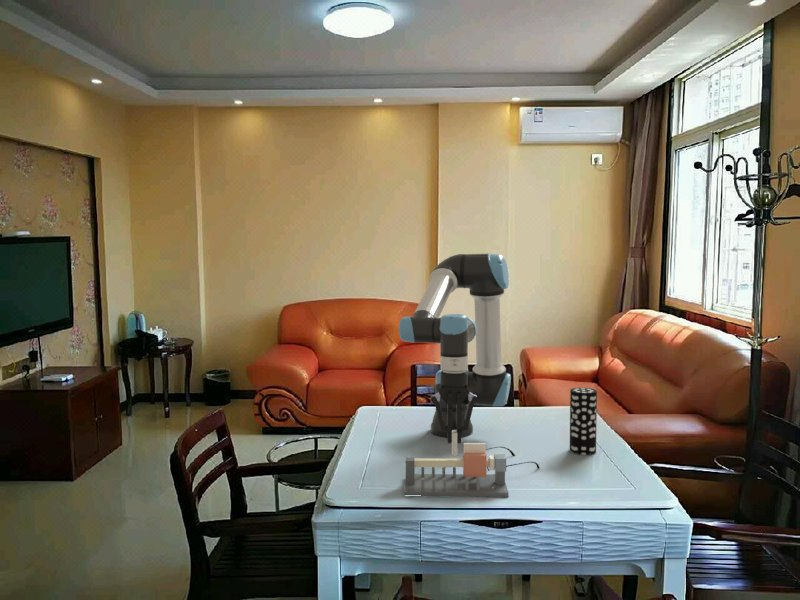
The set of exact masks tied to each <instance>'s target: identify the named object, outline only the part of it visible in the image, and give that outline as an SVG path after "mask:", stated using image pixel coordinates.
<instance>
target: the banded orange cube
mask: <svg viewBox="0 0 800 600" xmlns="http://www.w3.org/2000/svg"><path fill="white" fill-rule="evenodd" d="M486 445H487V444H486V442H463V449H462V451H463V452H462V455H463V456H462V459H464V467H462V469H463V470H462V472H463V471H464V477H486V474H487V467H486V459H487V453H486V452H487V450H486V449H487V446H486Z"/></svg>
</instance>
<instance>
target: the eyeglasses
mask: <svg viewBox="0 0 800 600" xmlns="http://www.w3.org/2000/svg"><path fill="white" fill-rule="evenodd" d="M497 448H499V446H495V447H491V448H490V447H489V448H486V451H488V450H491V449H492V450H493V449H497ZM500 448H502V449H505V450H507V451H509V453H510V454H511V455H512V456H511V457H516V454H515V453H514V452H513V450H511V449H510V448H508V447H504V446H500ZM527 463H530V461H527V462H526V461H525V462H520V463H513V464H509V465H506V468H509V467H512V466H517V465H518V466H519V465H522V464H527ZM531 463H533V464H535V465H536V468H537V470H538V469H540V465H539V464H538V463H537V462H535V461H531ZM486 470H487V471H488V472H490V468H489V467H486Z"/></svg>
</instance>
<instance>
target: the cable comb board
mask: <svg viewBox="0 0 800 600" xmlns="http://www.w3.org/2000/svg"><path fill="white" fill-rule="evenodd" d="M414 458H415V457H411V456H409V457H407V456H406V457H405V476H404V477H405V479H404V490H403V496H404V495H421V496H471V497H470V498H475V497H476V498H509V491H508V487H507V484H506V483H507V482H506V472H495V471H494V473H493V474H492V473H491V474H490V473H489V474H488V473H486V477H464V471H463V470H462V474H461V473H457V471H456V469H457V467H452V473H448V474H447V473H446V467H441V468H442V472H441V473H439V474H438V473H436V472H435V471H436V467H431V473H425V467H420V468H421V471H420V472H421V473H415V472H416V469H415V468H416V467H414ZM487 496H488V497H487ZM490 496H491V497H490Z"/></svg>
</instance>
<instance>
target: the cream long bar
mask: <svg viewBox="0 0 800 600" xmlns="http://www.w3.org/2000/svg"><path fill="white" fill-rule="evenodd" d="M506 466H507V457H506V454H504V453H503V454H501V453H500V454H499V453H497V454H496V453H495V454H493V455H489V456H488V458H486V468H487V467H488V468H489V471H494V473H495V472H505V473H506V472H507V467H506ZM414 467H415V468H421V467H424V468H432V467H435V468H442V467H445V468H453V467H456V468H463V467H464V459H463V458H419V457H418V458H415V457H414Z"/></svg>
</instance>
